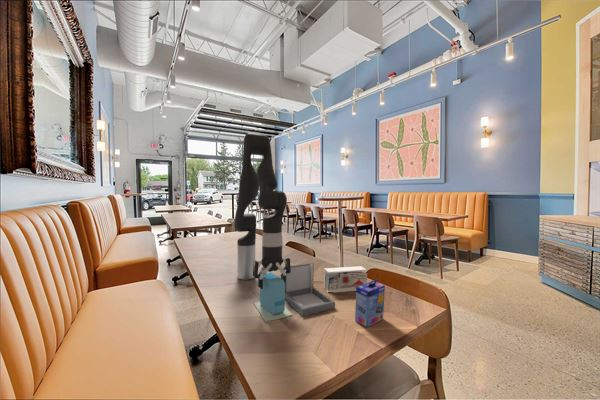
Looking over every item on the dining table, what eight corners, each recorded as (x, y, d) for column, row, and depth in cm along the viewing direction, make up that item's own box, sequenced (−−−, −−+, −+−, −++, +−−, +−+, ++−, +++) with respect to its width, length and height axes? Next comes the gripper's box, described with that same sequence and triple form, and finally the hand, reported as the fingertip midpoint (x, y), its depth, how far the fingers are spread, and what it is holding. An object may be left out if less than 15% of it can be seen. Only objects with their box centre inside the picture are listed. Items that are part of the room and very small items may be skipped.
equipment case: (283, 297, 103) (283, 266, 103) (312, 291, 110) (312, 262, 109) (302, 316, 87) (302, 280, 87) (335, 308, 93) (335, 274, 93)
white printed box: (327, 293, 108) (327, 272, 108) (323, 288, 114) (323, 268, 113) (369, 289, 112) (369, 269, 112) (363, 285, 118) (363, 265, 118)
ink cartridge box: (367, 328, 80) (368, 284, 79) (354, 321, 84) (354, 279, 84) (385, 319, 86) (385, 278, 85) (371, 312, 90) (372, 274, 90)
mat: (253, 303, 97) (253, 302, 97) (277, 299, 101) (277, 298, 101) (265, 321, 83) (265, 320, 83) (292, 315, 88) (292, 314, 88)
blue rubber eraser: (284, 313, 89) (285, 280, 88) (273, 316, 86) (273, 283, 86) (269, 301, 99) (270, 271, 98) (259, 303, 96) (259, 273, 96)
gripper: (285, 240, 98) (285, 280, 99) (251, 243, 92) (250, 286, 93) (293, 244, 91) (293, 287, 92) (256, 247, 85) (256, 293, 86)
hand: (272, 286), depth 92 cm, fingers open, 8 cm apart
